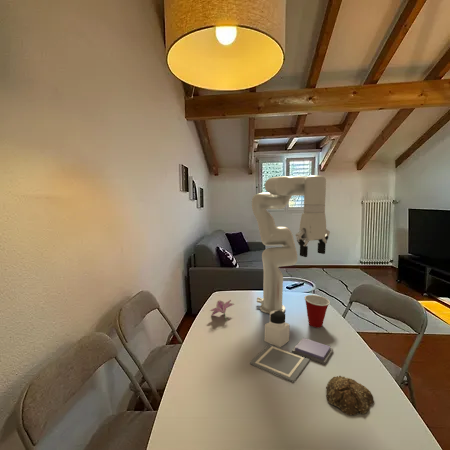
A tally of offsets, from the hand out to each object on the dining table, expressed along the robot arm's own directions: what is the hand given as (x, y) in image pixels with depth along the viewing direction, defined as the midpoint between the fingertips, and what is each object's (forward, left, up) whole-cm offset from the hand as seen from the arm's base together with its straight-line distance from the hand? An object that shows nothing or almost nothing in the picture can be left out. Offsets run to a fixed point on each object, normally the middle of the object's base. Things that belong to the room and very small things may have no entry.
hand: (312, 254), depth 105 cm
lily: (-41, -2, -36) cm, 54 cm away
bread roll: (+19, -22, -36) cm, 46 cm away
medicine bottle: (-11, -6, -36) cm, 38 cm away
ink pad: (+3, -5, -35) cm, 36 cm away
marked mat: (-4, -18, -35) cm, 40 cm away
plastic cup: (-3, +17, -36) cm, 39 cm away
